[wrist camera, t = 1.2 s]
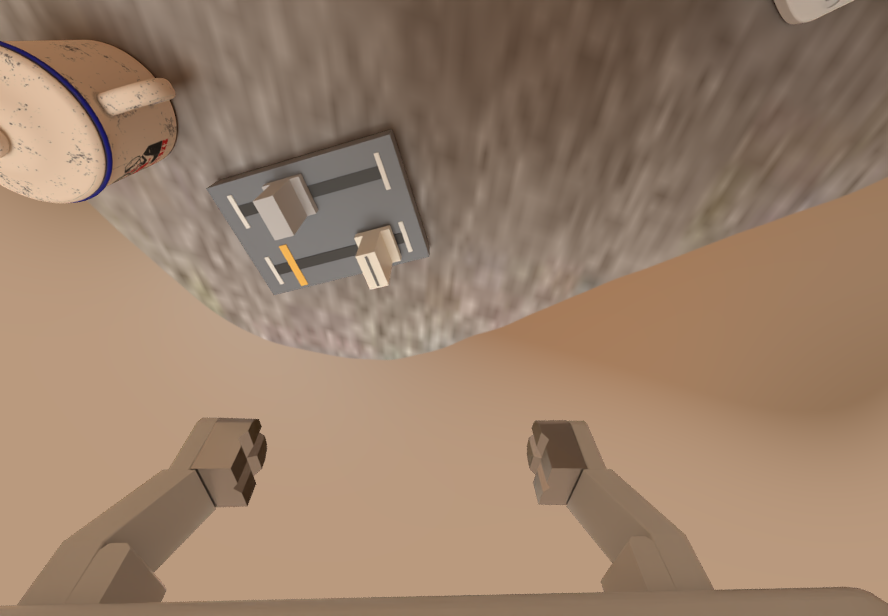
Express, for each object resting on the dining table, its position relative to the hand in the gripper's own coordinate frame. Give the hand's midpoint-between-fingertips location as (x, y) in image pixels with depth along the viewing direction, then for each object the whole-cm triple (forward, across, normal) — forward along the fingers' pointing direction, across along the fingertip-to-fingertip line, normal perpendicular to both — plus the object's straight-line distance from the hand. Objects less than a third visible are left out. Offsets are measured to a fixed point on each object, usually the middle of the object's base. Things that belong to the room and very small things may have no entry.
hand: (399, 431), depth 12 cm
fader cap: (+24, +3, +6) cm, 25 cm away
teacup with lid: (+27, +22, -4) cm, 35 cm away
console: (+27, +8, +4) cm, 28 cm away
